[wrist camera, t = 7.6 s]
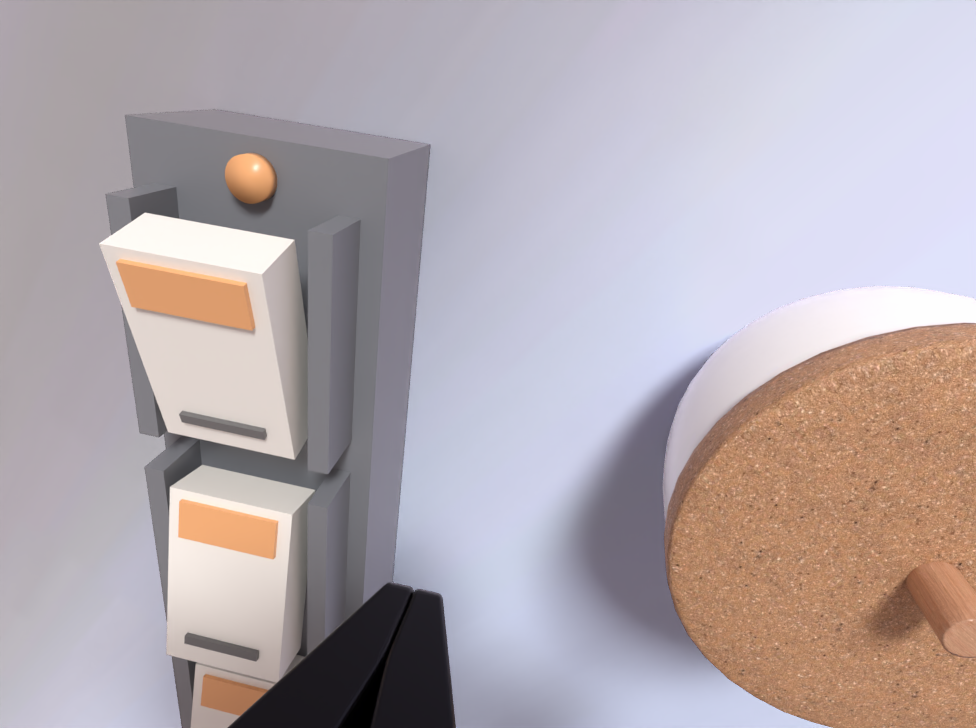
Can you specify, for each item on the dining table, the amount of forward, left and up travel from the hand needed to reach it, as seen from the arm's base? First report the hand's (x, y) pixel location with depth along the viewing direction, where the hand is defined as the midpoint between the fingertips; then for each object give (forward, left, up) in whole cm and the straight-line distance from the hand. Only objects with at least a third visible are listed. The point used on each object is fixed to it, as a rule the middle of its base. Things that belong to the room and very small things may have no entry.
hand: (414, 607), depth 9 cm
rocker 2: (-8, +7, -7) cm, 13 cm away
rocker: (0, +7, -7) cm, 10 cm away
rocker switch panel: (-10, +7, -13) cm, 17 cm away
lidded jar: (-1, -10, -13) cm, 16 cm away
